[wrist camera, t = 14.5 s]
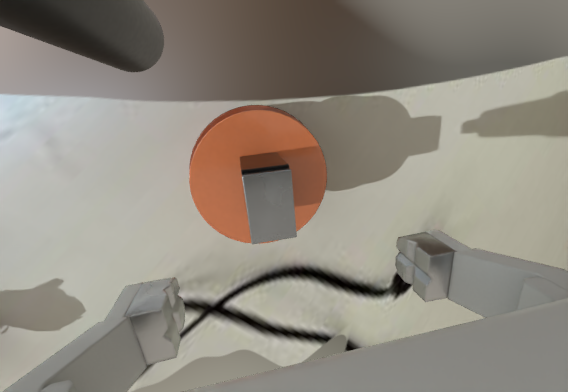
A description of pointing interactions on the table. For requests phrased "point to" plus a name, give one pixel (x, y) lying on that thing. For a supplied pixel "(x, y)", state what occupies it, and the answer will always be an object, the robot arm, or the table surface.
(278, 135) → the orange short cylinder
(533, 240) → the table surface
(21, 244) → the table surface
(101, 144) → the table surface
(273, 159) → the black block
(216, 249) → the table surface
